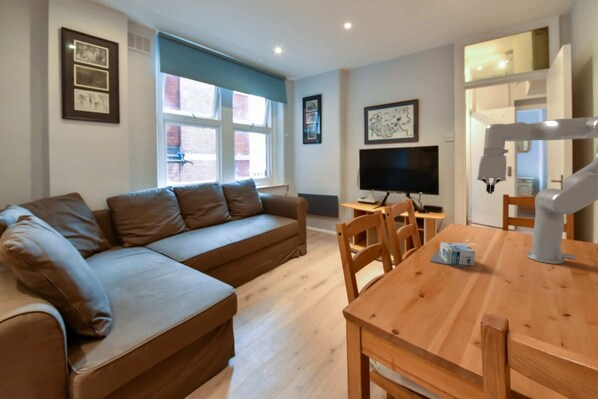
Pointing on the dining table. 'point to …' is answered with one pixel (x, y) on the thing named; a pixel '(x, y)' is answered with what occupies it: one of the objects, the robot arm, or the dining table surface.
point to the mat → (438, 259)
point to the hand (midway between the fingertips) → (489, 193)
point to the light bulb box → (457, 253)
